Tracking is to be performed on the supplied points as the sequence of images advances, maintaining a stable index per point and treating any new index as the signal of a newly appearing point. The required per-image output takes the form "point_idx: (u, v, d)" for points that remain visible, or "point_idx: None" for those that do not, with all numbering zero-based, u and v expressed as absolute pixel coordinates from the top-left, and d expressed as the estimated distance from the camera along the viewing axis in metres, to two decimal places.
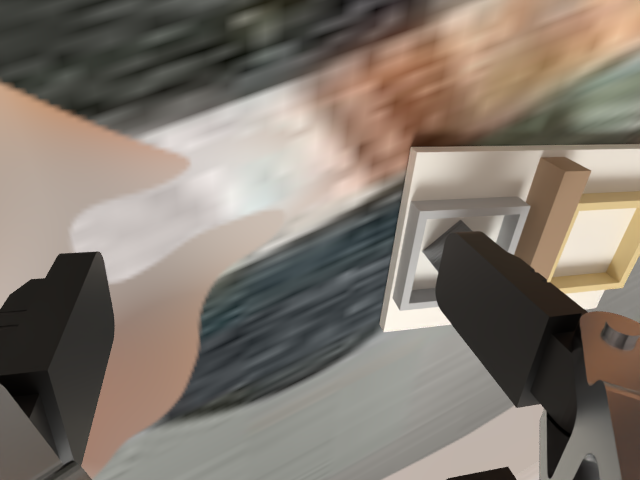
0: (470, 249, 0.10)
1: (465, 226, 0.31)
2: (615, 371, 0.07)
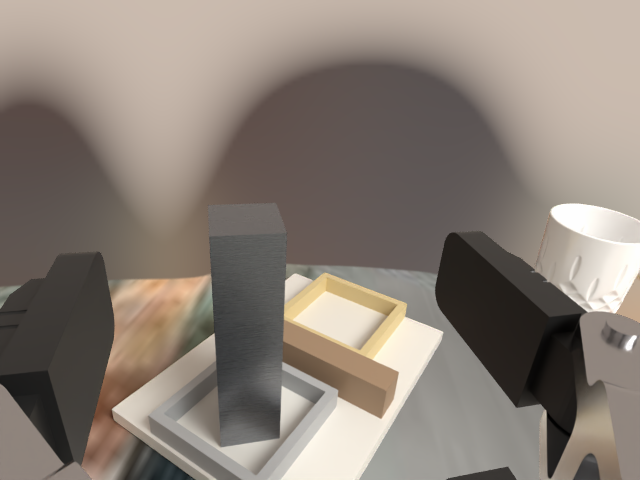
0: (470, 249, 0.10)
1: None
2: (615, 371, 0.07)
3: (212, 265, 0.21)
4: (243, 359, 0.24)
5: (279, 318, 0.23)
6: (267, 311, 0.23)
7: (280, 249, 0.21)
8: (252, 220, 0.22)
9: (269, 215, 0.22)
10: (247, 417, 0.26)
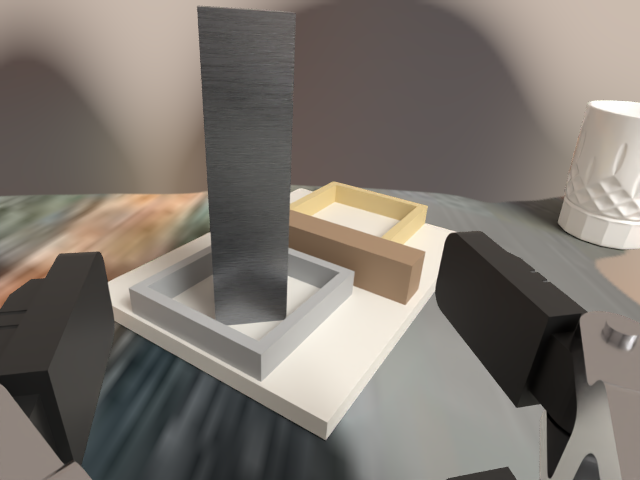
0: (470, 249, 0.10)
1: None
2: (615, 371, 0.07)
3: (201, 53, 0.16)
4: (242, 201, 0.19)
5: (286, 144, 0.19)
6: (271, 132, 0.18)
7: (287, 38, 0.17)
8: (251, 9, 0.17)
9: None
10: (248, 287, 0.21)
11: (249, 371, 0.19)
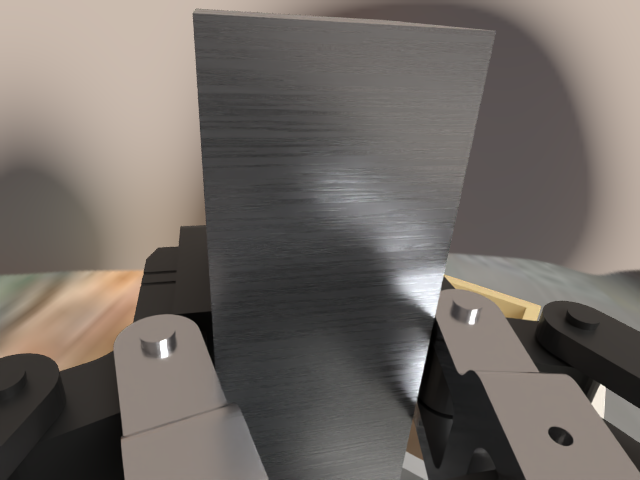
0: None
1: None
2: (443, 341, 0.07)
3: (208, 156, 0.05)
4: (300, 468, 0.08)
5: (414, 351, 0.08)
6: (384, 330, 0.07)
7: (460, 104, 0.06)
8: (344, 19, 0.06)
9: (394, 22, 0.07)
10: None
11: None
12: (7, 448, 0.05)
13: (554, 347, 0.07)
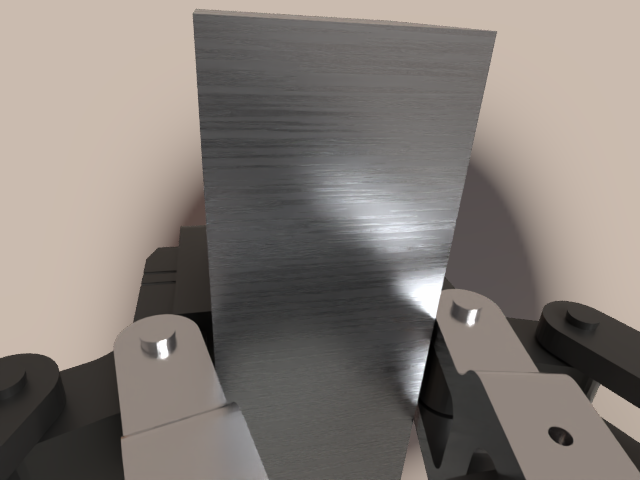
0: None
1: None
2: (443, 341, 0.07)
3: (208, 157, 0.05)
4: (300, 469, 0.08)
5: (415, 352, 0.08)
6: (385, 332, 0.07)
7: (460, 105, 0.06)
8: None
9: (394, 22, 0.07)
10: None
11: None
12: (7, 448, 0.05)
13: (554, 347, 0.07)
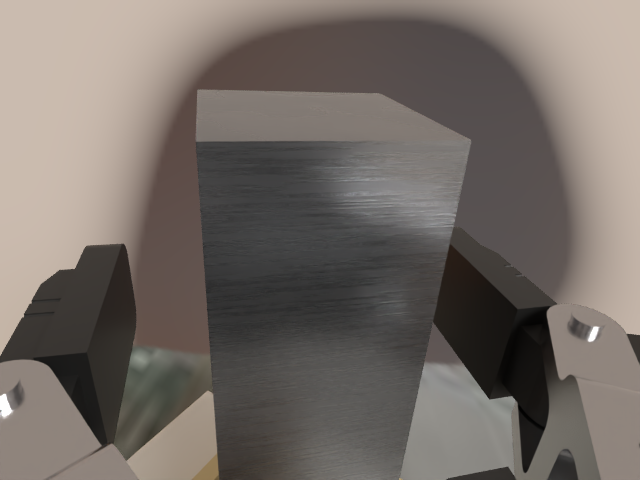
0: None
1: None
2: (576, 361, 0.07)
3: (209, 257, 0.06)
4: None
5: (402, 410, 0.08)
6: (372, 394, 0.08)
7: (440, 202, 0.06)
8: (335, 114, 0.07)
9: (382, 109, 0.07)
10: None
11: None
12: None
13: None
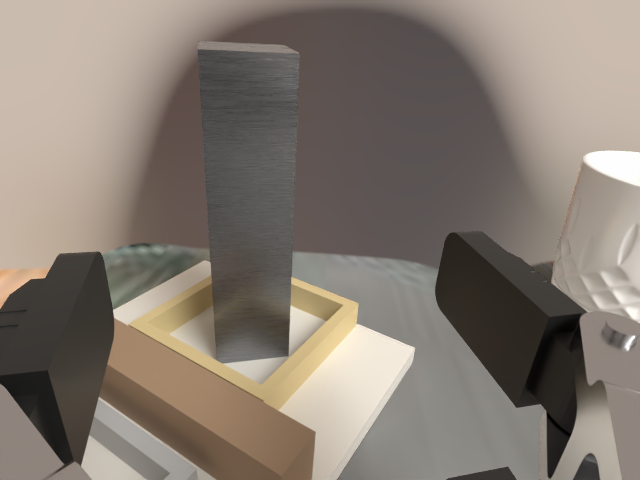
0: (470, 249, 0.10)
1: None
2: (615, 371, 0.07)
3: (202, 95, 0.16)
4: (243, 241, 0.19)
5: (289, 184, 0.18)
6: (274, 172, 0.18)
7: (290, 79, 0.16)
8: (254, 48, 0.17)
9: (276, 47, 0.18)
10: (249, 325, 0.21)
11: None
12: None
13: None
